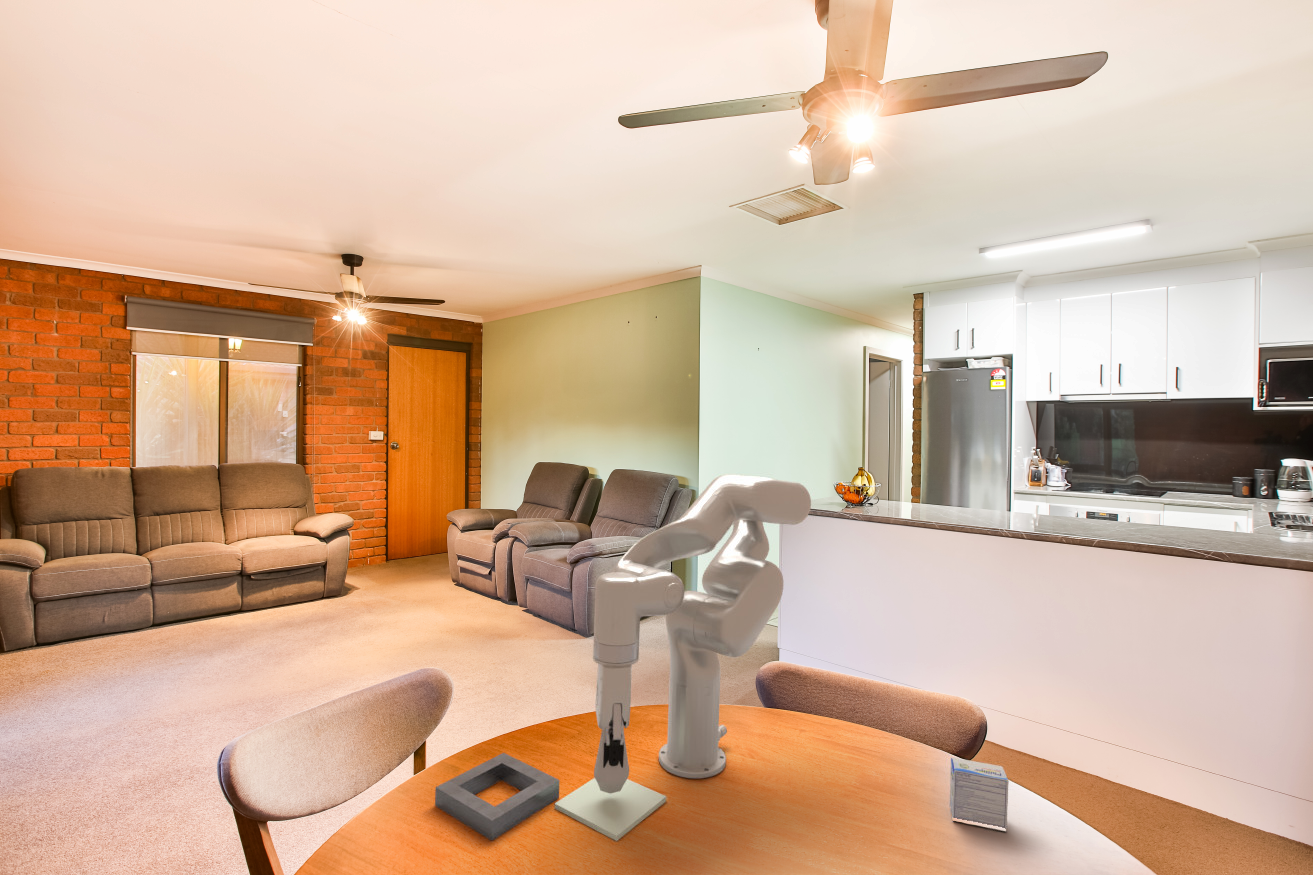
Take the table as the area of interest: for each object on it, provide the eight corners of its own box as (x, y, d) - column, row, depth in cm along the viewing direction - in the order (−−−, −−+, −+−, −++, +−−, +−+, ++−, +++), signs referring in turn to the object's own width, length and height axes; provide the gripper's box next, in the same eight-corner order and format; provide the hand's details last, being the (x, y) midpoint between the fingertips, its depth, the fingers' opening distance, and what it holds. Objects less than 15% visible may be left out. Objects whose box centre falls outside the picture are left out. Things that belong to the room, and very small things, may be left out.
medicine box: (1001, 818, 101) (1003, 765, 101) (1007, 834, 97) (1009, 779, 97) (948, 807, 104) (950, 755, 104) (952, 822, 100) (953, 769, 100)
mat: (606, 774, 111) (606, 769, 111) (666, 800, 103) (666, 796, 103) (554, 808, 100) (554, 803, 100) (616, 840, 93) (616, 835, 93)
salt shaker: (632, 779, 104) (635, 701, 104) (623, 798, 98) (626, 716, 98) (598, 774, 105) (601, 697, 105) (588, 793, 99) (591, 712, 99)
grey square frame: (503, 769, 111) (503, 752, 111) (558, 797, 103) (559, 779, 103) (434, 805, 100) (435, 786, 100) (491, 840, 92) (492, 820, 92)
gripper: (590, 634, 109) (586, 738, 109) (596, 668, 93) (591, 791, 93) (632, 633, 110) (628, 736, 110) (645, 667, 94) (641, 788, 94)
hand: (612, 760), depth 102 cm, fingers closed on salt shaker, 3 cm apart
